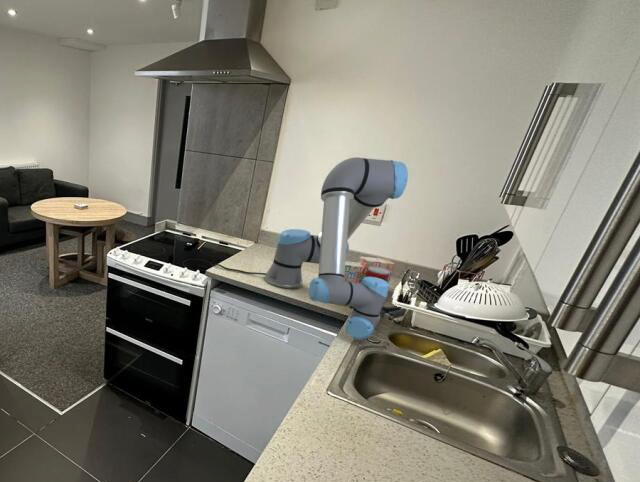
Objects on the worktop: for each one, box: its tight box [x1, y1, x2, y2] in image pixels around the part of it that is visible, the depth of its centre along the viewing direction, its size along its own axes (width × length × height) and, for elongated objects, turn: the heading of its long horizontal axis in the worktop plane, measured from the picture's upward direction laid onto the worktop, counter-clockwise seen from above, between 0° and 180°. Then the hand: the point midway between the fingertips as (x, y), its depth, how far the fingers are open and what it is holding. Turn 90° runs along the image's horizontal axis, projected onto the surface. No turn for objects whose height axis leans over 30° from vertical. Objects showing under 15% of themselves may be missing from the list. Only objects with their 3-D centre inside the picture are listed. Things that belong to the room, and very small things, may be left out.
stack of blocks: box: [344, 256, 396, 284], centre depth 176 cm, size 21×6×12 cm, turn 84°
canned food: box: [365, 267, 390, 282], centre depth 167 cm, size 8×8×11 cm
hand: (379, 298), depth 150 cm, fingers open, 11 cm apart
